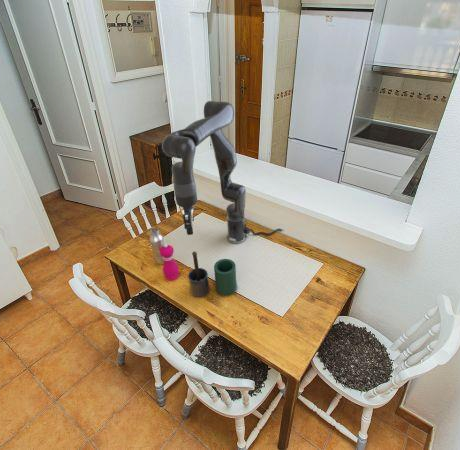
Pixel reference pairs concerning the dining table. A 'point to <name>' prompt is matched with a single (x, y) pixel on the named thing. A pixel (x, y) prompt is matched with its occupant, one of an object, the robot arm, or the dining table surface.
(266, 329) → the dining table surface
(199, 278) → the bottle brush
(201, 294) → the pot
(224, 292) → the green jar
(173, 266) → the pepper mill
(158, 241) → the silver metal bottle
